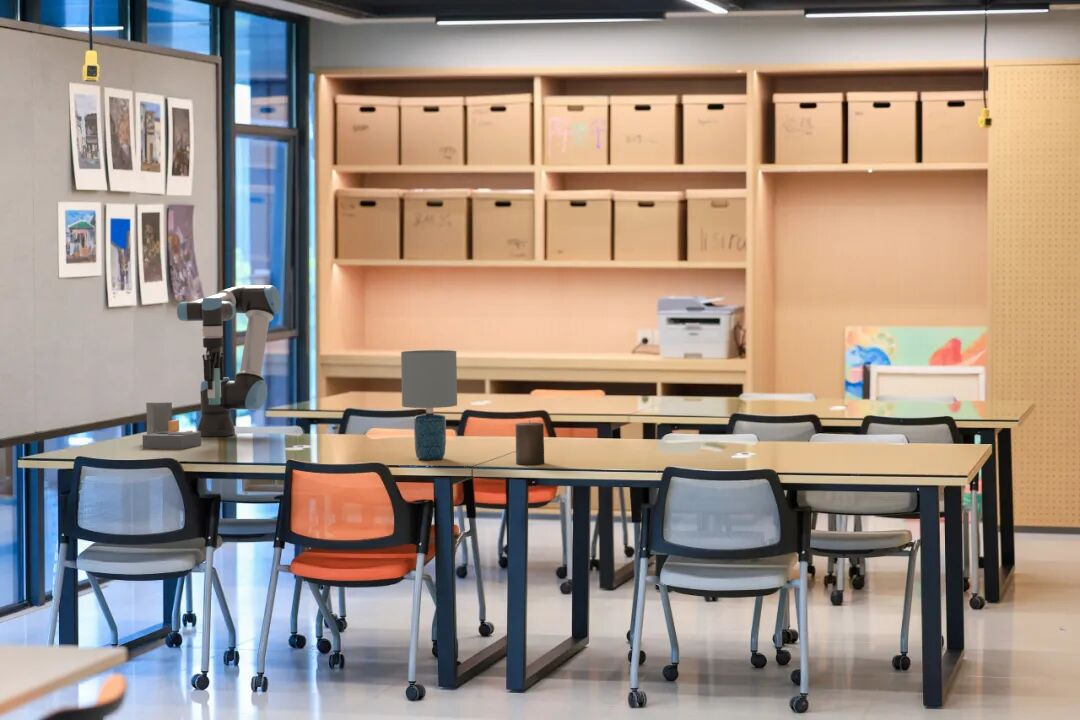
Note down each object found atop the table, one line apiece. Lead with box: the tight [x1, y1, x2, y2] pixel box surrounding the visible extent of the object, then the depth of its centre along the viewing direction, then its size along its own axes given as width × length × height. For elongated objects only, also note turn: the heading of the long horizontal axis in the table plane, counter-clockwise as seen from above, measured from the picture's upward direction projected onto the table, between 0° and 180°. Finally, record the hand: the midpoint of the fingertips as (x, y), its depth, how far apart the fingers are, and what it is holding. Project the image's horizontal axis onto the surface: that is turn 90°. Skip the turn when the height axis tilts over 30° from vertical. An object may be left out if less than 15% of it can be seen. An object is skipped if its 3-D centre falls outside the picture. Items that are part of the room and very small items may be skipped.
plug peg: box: [209, 368, 220, 405], centre depth 613 cm, size 4×4×14 cm
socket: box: [141, 431, 202, 450], centre depth 606 cm, size 16×16×5 cm
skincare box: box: [145, 401, 173, 434], centre depth 623 cm, size 8×7×16 cm
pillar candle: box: [514, 419, 545, 466], centre depth 539 cm, size 10×10×15 cm
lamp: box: [400, 349, 458, 461], centre depth 555 cm, size 19×19×38 cm
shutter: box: [168, 419, 193, 434], centre depth 605 cm, size 7×7×5 cm
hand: (214, 397), depth 614 cm, fingers closed on plug peg, 4 cm apart
